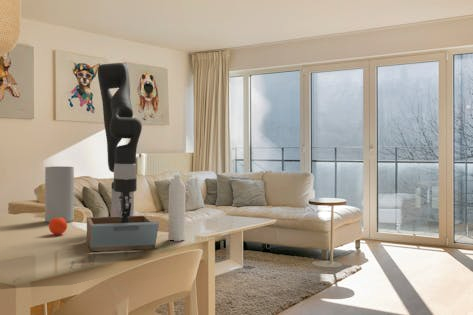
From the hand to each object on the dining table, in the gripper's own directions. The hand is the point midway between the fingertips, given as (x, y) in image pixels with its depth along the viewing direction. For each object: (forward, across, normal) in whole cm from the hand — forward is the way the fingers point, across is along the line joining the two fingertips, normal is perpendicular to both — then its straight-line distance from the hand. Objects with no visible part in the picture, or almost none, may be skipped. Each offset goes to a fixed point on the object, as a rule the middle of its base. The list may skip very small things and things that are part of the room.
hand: (124, 228), depth 187 cm
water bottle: (+8, -20, +23) cm, 31 cm away
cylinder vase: (+9, -80, -20) cm, 83 cm away
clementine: (+9, -43, -21) cm, 49 cm away
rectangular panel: (+7, -3, 0) cm, 7 cm away
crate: (+8, -14, 0) cm, 17 cm away
